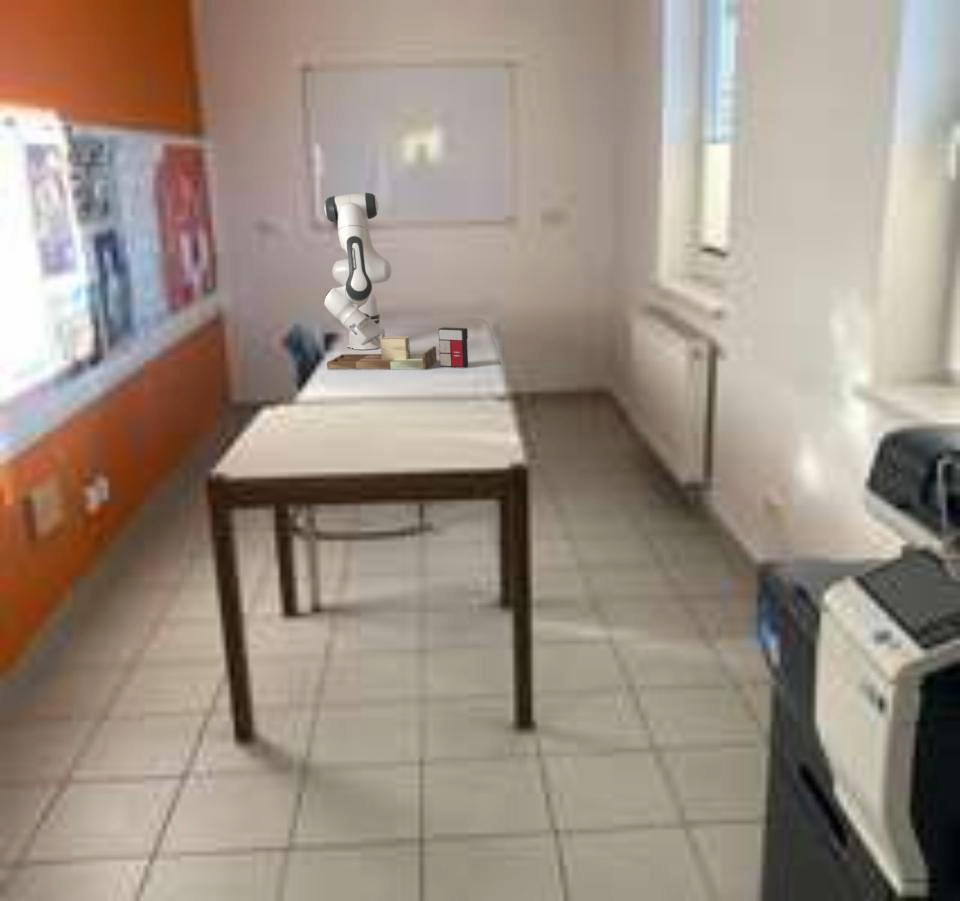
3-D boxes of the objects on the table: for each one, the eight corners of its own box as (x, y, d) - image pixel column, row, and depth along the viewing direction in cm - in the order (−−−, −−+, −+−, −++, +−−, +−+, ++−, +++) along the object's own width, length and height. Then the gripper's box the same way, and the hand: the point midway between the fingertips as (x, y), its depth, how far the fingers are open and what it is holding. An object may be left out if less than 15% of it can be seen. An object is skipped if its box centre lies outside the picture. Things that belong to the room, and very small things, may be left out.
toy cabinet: (439, 367, 388) (437, 328, 384) (444, 365, 391) (442, 327, 387) (463, 368, 383) (462, 329, 379) (469, 366, 386) (467, 328, 382)
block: (386, 356, 397) (384, 336, 395) (410, 356, 395) (409, 336, 393) (381, 359, 392) (380, 339, 390) (406, 359, 390) (405, 339, 387)
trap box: (342, 361, 408) (341, 347, 407) (436, 361, 400) (435, 346, 399) (327, 369, 391) (326, 354, 390) (425, 369, 383) (424, 354, 382)
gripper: (353, 320, 382) (378, 345, 383) (369, 313, 401) (394, 337, 402) (342, 332, 384) (368, 357, 385) (359, 324, 403) (384, 348, 404)
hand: (381, 347), depth 393 cm, fingers closed
